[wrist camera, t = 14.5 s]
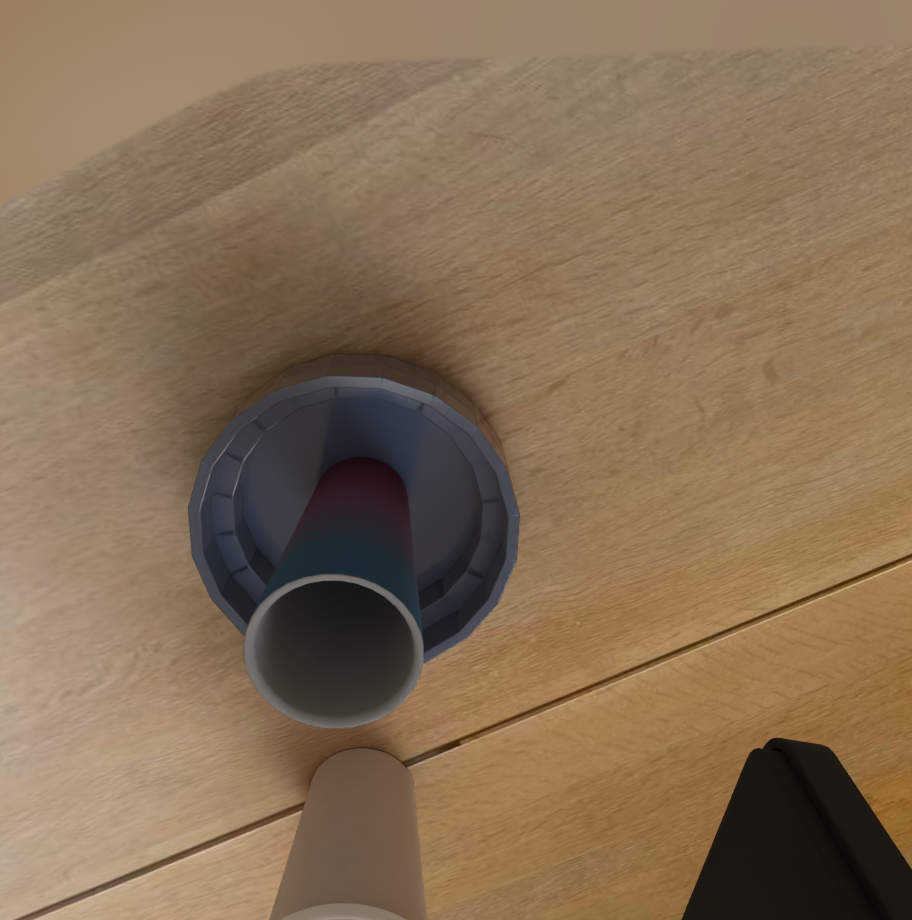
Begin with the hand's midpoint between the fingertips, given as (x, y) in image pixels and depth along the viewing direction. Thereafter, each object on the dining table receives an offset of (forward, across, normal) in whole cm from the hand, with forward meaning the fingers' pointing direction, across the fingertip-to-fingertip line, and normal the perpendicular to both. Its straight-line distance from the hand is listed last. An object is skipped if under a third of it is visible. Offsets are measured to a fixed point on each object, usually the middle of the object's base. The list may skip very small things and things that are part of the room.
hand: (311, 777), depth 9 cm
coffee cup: (+36, -4, +32) cm, 48 cm away
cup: (+36, 0, +12) cm, 38 cm away
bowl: (+36, 0, +12) cm, 38 cm away
